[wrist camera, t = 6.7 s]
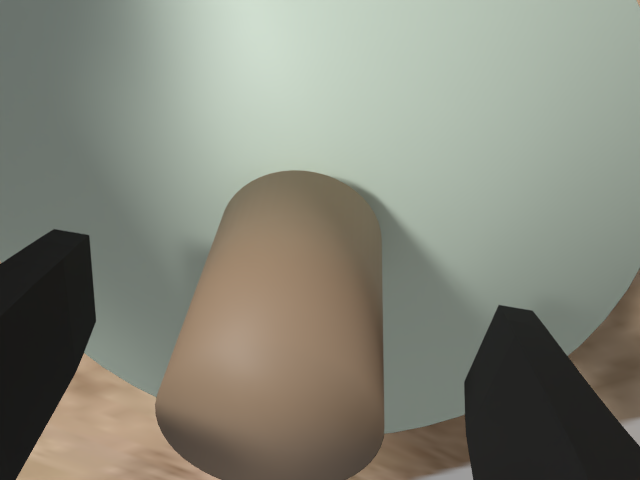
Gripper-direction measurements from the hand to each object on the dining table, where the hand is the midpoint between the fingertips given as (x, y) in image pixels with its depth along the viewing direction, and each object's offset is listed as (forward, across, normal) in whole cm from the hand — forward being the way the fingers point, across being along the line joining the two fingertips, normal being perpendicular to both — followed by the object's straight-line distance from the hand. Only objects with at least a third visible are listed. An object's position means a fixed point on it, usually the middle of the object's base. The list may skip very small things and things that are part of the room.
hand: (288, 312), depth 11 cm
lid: (+3, 0, 0) cm, 3 cm away
